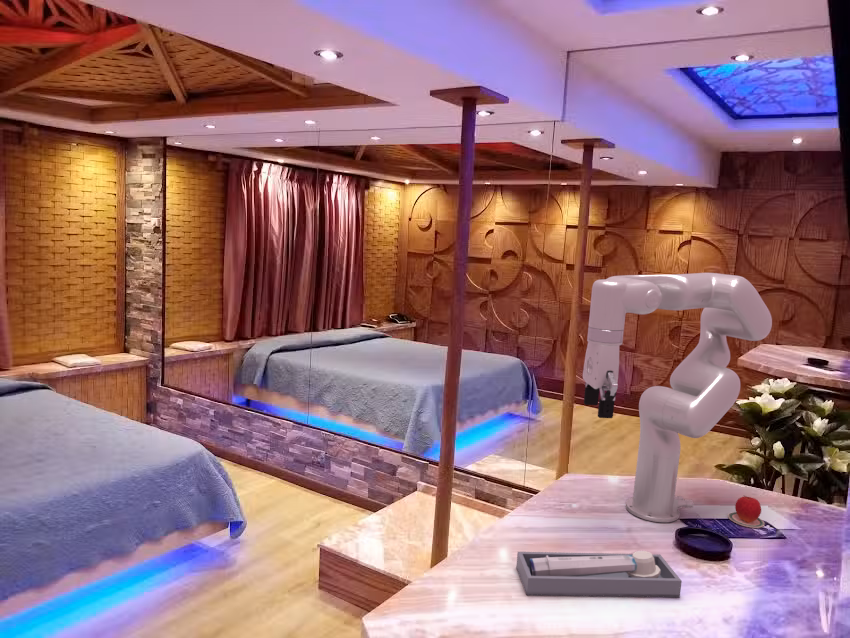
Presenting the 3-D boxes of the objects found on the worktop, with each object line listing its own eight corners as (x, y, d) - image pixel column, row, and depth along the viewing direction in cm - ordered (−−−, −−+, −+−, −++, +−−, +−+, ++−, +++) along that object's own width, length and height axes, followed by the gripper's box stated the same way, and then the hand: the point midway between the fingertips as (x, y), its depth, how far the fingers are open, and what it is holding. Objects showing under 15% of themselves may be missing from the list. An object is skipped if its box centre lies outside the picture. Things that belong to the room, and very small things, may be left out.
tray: (658, 570, 131) (660, 554, 131) (679, 597, 122) (681, 580, 121) (516, 567, 129) (517, 551, 129) (526, 595, 120) (528, 578, 119)
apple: (720, 517, 158) (724, 492, 157) (742, 512, 162) (745, 487, 161) (749, 531, 151) (753, 505, 150) (771, 526, 155) (775, 500, 154)
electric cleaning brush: (527, 552, 126) (653, 541, 126) (529, 583, 127) (654, 573, 127) (532, 566, 121) (663, 555, 121) (534, 598, 122) (664, 587, 122)
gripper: (576, 328, 149) (570, 399, 151) (601, 342, 132) (593, 422, 134) (608, 329, 149) (601, 400, 152) (637, 344, 132) (628, 423, 135)
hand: (597, 410), depth 143 cm, fingers open, 9 cm apart
